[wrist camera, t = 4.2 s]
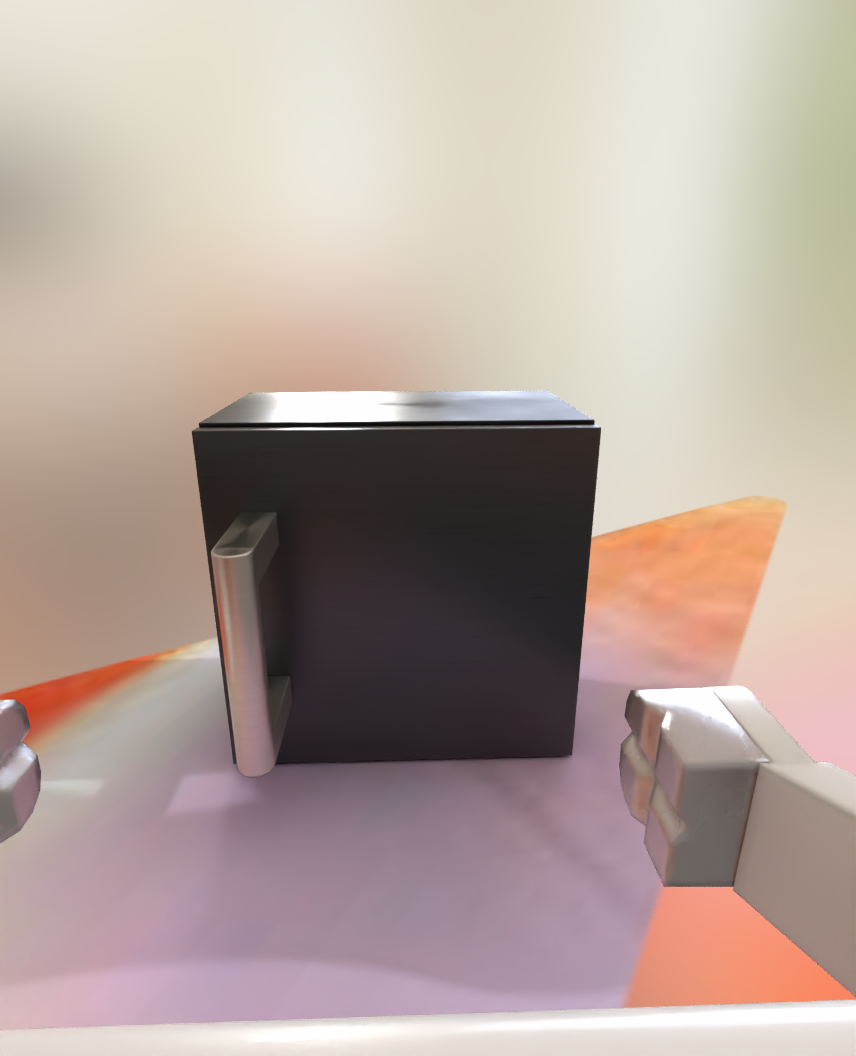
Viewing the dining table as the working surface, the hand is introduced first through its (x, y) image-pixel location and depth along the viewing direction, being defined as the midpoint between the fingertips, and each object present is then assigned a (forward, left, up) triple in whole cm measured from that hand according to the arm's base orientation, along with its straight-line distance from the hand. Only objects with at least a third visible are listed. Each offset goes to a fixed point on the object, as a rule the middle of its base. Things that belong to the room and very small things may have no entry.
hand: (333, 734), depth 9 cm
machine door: (-5, -17, -17) cm, 24 cm away
